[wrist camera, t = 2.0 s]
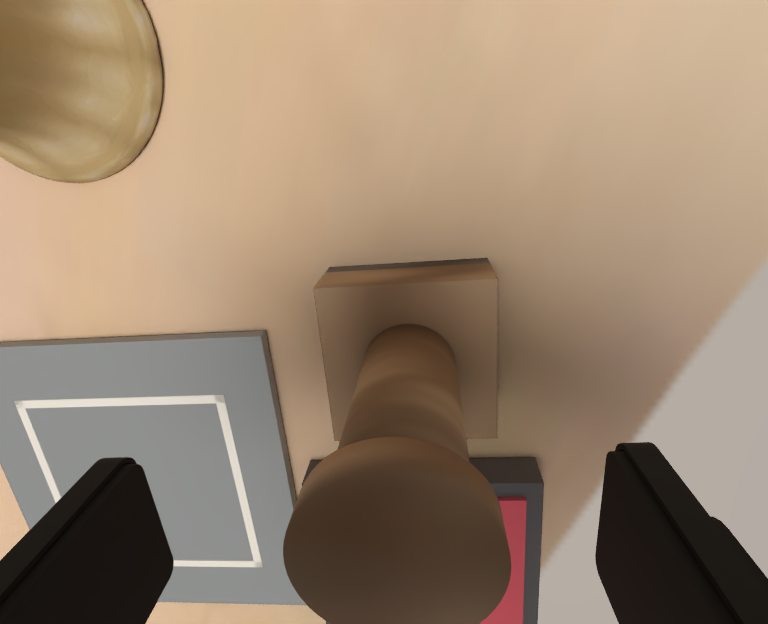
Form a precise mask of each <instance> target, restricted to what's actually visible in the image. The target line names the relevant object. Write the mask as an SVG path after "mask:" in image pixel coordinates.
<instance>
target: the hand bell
mask: <svg viewBox="0 0 768 624" xmlns="http://www.w3.org/2000/svg"><path fill="white" fill-rule="evenodd" d="M162 84H163V81H162V66H161V60H160V54H159V50H158V44H157V38H156V35H155V32H154V29H153V26H152V23H151V20H150V18H149V15H148V12H147V11H146V9H145V7H144V5H143V3H142V0H0V157H2V158H3V159H5V160H6V161H8V162H10V163H11V164H13V165H15V166H17V167H19V168H21V169H23V170H25V171H27V172H30V173H32V174H34V175H37V176H40V177H42V178H45V179H49V180H54V181H59V182H68V183H85V182H92V181H96V180H100V179H103V178H106V177H109V176H111V175H113V174H115V173H117V172H119V171H120V170H122V169H123V168H125V167H126V166H127V165H128V164H130V163H131V162H132V161H133V160H134V159H135V158H136V157H137V156H138V155H139V153H140V152H141V150H142V149H143V148H144V146H145V145H146V143H147V141H148V140H149V138H150V137H151V135H152V132H153V129H154V127H155V125H156V122H157V119H158V115H159V111H160V107H161V101H162Z"/></svg>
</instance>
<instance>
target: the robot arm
mask: <svg viewBox="0 0 768 624" xmlns="http://www.w3.org/2000/svg"><path fill="white" fill-rule="evenodd" d="M596 565H597V570H598V574H599V576H600V579H601V581H602V584H603V586H604V589H605V591H606V594H607V596H608V598H609V601H610V603H611V606H612V608H613V610H614V613H615V615H616V617H617V620H618V622H619V624H768V579H767V577H766V576H765V575H764V573H763V572H762V571H761V570H760V568H759V567H758V566H757V565H756V564H755V562H754V561H753V559H752V558H751V557H750V556H749V555H748V553H747V552H746V551H745V549H744V548H743V547H742V546H741V544H740V543H739V542H738V540H737V539H736V538H735V537H734V536H733V534H732V533H731V532H730V530H729V529H728V528H727V527H726V526H725V525H724V524H723V523H722V522H721V521H720V520H718V519H716V518H714V517H710V516H709V515H708V513H707V512H706V511H705V509H704V508H703V507H702V505H701V504H700V503H699V502H698V500H697V499H696V498H695V496H694V495H693V494H692V492H691V491H690V490H689V488H688V487H687V486H686V485H685V483H684V482H683V481H682V479H681V478H680V477H679V475H678V474H677V473H676V472H675V470H674V469H673V468H672V466H671V465H670V464H669V462H668V461H667V460H666V459H665V457H664V456H663V455H662V453H661V452H660V451H659V449H658V448H657V447H656V446H655V445H654V444H653V443H649V442H646V443H620V444H618V445H617V447H616V450H615V451H610V452H608V454H607V457H606V465H605V474H604V483H603V492H602V502H601V510H600V519H599V529H598V538H597V546H596ZM173 566H174V560H173V556H172V553H171V550H170V547H169V544H168V541H167V538H166V535H165V532H164V529H163V526H162V523H161V520H160V517H159V514H158V511H157V508H156V505H155V502H154V499H153V496H152V493H151V490H150V487H149V484H148V481H147V478H146V475H145V472H144V469H143V468H142V466H141V465H139V464H137V463H136V461H135V460H134V459H133V458H130V457H115V458H102V459H99V460H98V461H97V462H95V463H94V464H93V465H92V466H91V468H90V469H89V470H88V471H87V472H86V473H85V474H84V475H83V476H82V477H81V478H80V479H79V480H78V481H77V482H76V483H75V484H74V485H73V486H72V487H71V488H70V489H69V490H68V491H67V492H66V493H65V494H64V495H63V496H62V497H61V499H60V500H59V501H58V502H57V503H56V504H55V505H54V506H53V507H52V508H51V509H50V510H49V511H48V512H47V513H46V514H45V515H44V516H43V517H42V518H41V519H40V520H39V521H38V522H37V523H36V524H35V525H34V526H33V527H32V529H31V530H30V531H29V532H28V533H27V534H26V535H25V536H24V537H23V538H22V539H21V540H20V541H19V542H18V543H17V544H16V545H15V546H14V547H13V548H12V549H11V550H10V551H9V552H8V553H7V554H6V555H5V556H4V557H3V559H2V560H1V561H0V624H145V623H146V621H147V619H148V617H149V616H150V614H151V612H152V610H153V608H154V607H155V605H156V603H157V601H158V599H159V597H160V596H161V594H162V592H163V590H164V588H165V587H166V585H167V583H168V581H169V579H170V577H171V575H172V571H173Z"/></svg>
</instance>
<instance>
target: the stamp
mask: <svg viewBox="0 0 768 624" xmlns="http://www.w3.org/2000/svg"><path fill="white" fill-rule="evenodd" d="M313 289H314V297H315V304H316V311H317V318H318V325H319V332H320V339H321V346H322V354H323V361H324V368H325V375H326V382H327V389H328V396H329V403H330V411H331V418H332V425H333V432H334V439H335V441H340V443H339V447H338V450H336V451H335V452H333V453H332V454H330V455H329V456H327V457H326V458H325V459H323V460H322V461H321V462H320V463H319V464H317V466H316V467H315V468H314V469H313V470H312V471H311V472H310V474H309V475H308V477H307V479H306V480H305V482H304V484H303V486H302V489H301V491H300V494H299V496H298V499H297V502H296V505H295V507H294V510H293V513H292V516H291V519H290V521H289V524H288V527H287V530H286V533H285V538H284V542H283V558H284V565H285V569H286V572H287V575H288V577H289V580H290V582H291V584H292V586H293V587H294V589H295V591H296V592H297V594H298V595H299V596H300V598H301V599H302V600H303V601H304V602H305V603H306V605H307V606H309V607H310V608H311V609H312V610H313V611H314V612H315V613H316V614H318V615H319V616H320V617H322V618H323V619H324V620H326V621H327V622H329V623H331V624H479V623H480V622H482V621H483V620H484V619H486V618H487V617H488V616H489V615H490V614H491V613H492V612H493V611H494V610H495V609H496V607H497V606H498V605H499V603H500V602H501V600H502V599H503V597H504V595H505V593H506V591H507V588H508V585H509V581H510V576H511V555H510V550H509V545H508V540H507V535H506V530H505V526H504V521H503V516H502V511H501V507H500V503H499V500H498V498H497V496H496V493H495V491H494V490H493V488H492V486H491V485H490V483H489V482H488V480H487V479H486V478H485V477H484V476H483V475H482V473H481V472H480V471H479V470H478V469H477V468H475V467H474V466H473V465H472V464H471V463H470V462H469V456H468V449H467V441H466V439H472V438H497V421H498V278H497V276H496V274H495V272H494V270H493V268H492V266H491V264H490V263H489V261H488V259H487V258H478V259H461V260H444V261H427V262H410V263H393V264H376V265H359V266H342V267H330V268H329V269H328V270H327V271H326V273H325V274H324V275H323V277H322V278H321V279H320V281H319V282H318V283H317V285H316V286H315V287H314V288H313Z"/></svg>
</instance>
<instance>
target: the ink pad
mask: <svg viewBox="0 0 768 624" xmlns="http://www.w3.org/2000/svg"><path fill="white" fill-rule="evenodd" d="M321 461H322V460H311V461H310V464H309V466H308V469H307V472H306V475H305V477H304V480H303V483H302V486H303V484H304V482H305V480H306V479H307V477H308V475H309V474H310V472H311V471H312V470H313V469H314V468H315V467H316V466H317V464H319V463H320V462H321ZM469 462H470V463H471V464H472V465H473V466H474V467H475V468H477V469H478V470H479V471H480V472H481V473H482V475H483V476H484V477H485V478H486V479H487V480H488V482H489V483H490V485H491V486H492V488H493V490H494V491H495V493H496V496H497V498H498V500H499V503H500V507H501V511H502V516H503V521H504V526H505V530H506V535H507V540H508V545H509V550H510V555H511V576H510V581H509V585H508V588H507V591H506V593H505V595H504V597H503V599H502V600H501V602H500V603H499V605H498V606H497V607H496V609H495V610H494V611H493V612H492V613H491V614H490V615H489V616H488V617H487V618H486V619H484V620H483V621H482V622H480V623H479V624H537V620H538V598H539V577H540V555H541V534H542V512H543V490H544V482H543V479H542V476H541V473H540V471H539V468H538V465H537V462H536V459H535V458H469ZM326 624H331V623H329V622H327V621H326Z"/></svg>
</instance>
